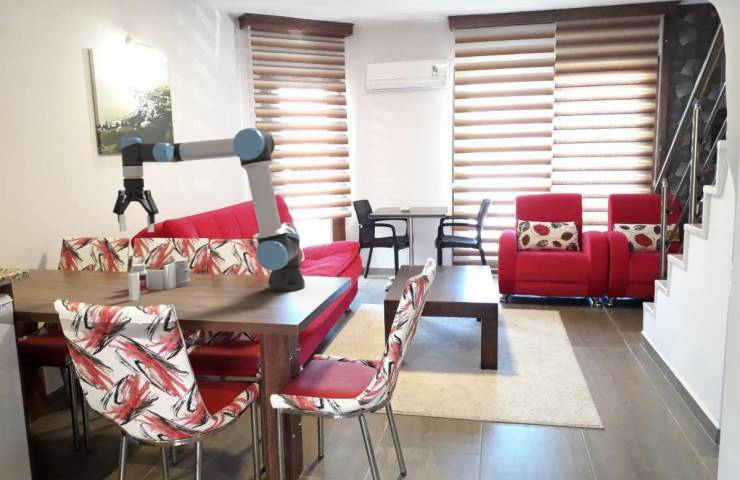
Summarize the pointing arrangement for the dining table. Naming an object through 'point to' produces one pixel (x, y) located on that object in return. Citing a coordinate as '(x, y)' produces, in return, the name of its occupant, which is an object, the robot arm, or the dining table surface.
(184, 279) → the mug
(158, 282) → the grey green panel
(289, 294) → the dining table surface
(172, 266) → the frame
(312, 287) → the dining table surface
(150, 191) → the robot arm
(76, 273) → the dining table surface
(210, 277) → the dining table surface
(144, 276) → the pill bottle
